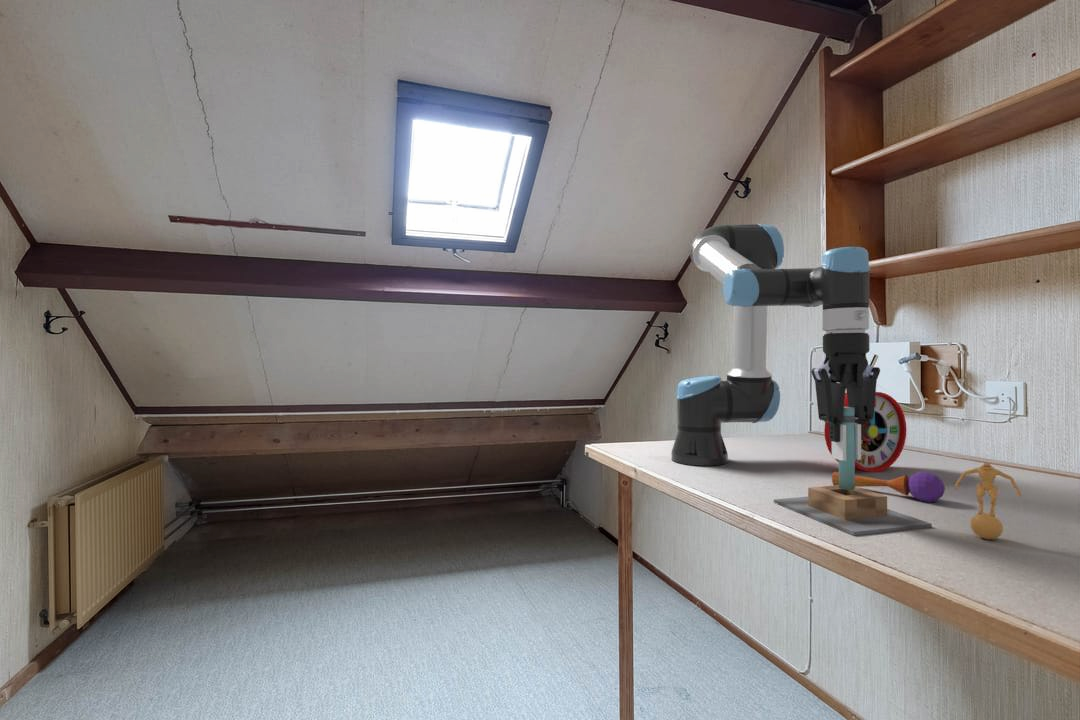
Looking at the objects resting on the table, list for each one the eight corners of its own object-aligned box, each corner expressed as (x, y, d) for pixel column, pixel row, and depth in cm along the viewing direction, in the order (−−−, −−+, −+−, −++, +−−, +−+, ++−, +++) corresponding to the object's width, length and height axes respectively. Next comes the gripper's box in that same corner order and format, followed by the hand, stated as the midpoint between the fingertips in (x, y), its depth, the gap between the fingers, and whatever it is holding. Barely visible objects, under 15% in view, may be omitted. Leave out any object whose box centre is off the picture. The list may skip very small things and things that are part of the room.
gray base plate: (773, 502, 107) (773, 482, 106) (840, 496, 110) (840, 476, 110) (853, 535, 87) (853, 510, 87) (931, 527, 91) (931, 503, 91)
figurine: (952, 536, 86) (952, 462, 86) (956, 526, 91) (956, 457, 91) (1021, 548, 81) (1021, 469, 81) (1021, 537, 85) (1021, 463, 85)
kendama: (839, 466, 122) (947, 473, 107) (840, 492, 121) (948, 503, 106) (829, 465, 118) (939, 472, 103) (829, 492, 117) (940, 504, 102)
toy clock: (843, 475, 129) (843, 393, 128) (824, 470, 134) (824, 391, 134) (906, 469, 134) (906, 390, 134) (885, 464, 140) (885, 389, 140)
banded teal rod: (835, 486, 99) (834, 407, 99) (847, 485, 100) (846, 406, 100) (846, 490, 97) (845, 408, 97) (858, 489, 97) (858, 407, 97)
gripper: (824, 331, 93) (825, 465, 93) (898, 331, 96) (898, 460, 97) (795, 333, 100) (796, 457, 100) (864, 333, 104) (864, 452, 104)
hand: (846, 458), depth 98 cm, fingers closed on banded teal rod, 2 cm apart
